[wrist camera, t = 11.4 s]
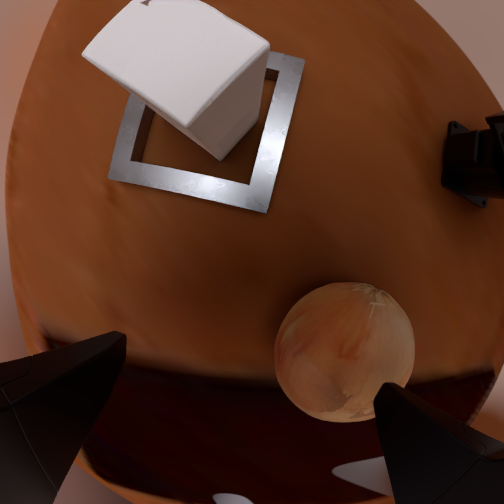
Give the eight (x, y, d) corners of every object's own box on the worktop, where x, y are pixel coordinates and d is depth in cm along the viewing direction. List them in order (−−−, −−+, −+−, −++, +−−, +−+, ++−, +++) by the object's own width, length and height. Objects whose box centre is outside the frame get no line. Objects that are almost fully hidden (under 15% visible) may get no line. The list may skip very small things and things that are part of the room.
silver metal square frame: (300, 70, 18) (305, 59, 16) (264, 211, 20) (266, 213, 18) (159, 47, 17) (152, 36, 15) (119, 179, 19) (107, 178, 17)
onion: (389, 265, 21) (466, 312, 11) (367, 366, 23) (411, 440, 13) (273, 260, 21) (295, 321, 11) (265, 371, 23) (273, 461, 13)
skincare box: (161, 118, 18) (75, 53, 7) (198, 76, 18) (153, -22, 6) (222, 165, 19) (184, 131, 8) (260, 122, 19) (276, 39, 7)
